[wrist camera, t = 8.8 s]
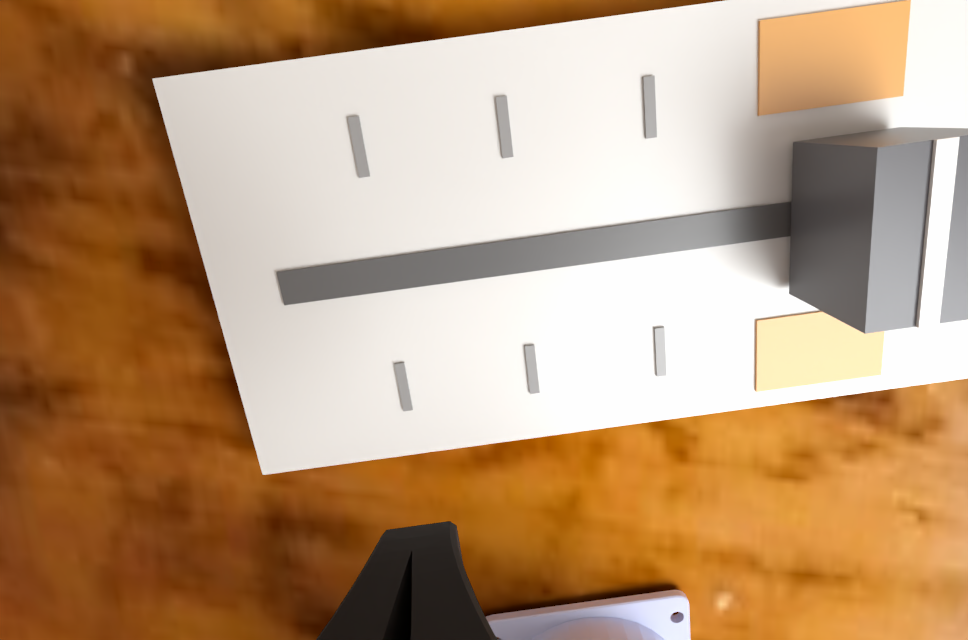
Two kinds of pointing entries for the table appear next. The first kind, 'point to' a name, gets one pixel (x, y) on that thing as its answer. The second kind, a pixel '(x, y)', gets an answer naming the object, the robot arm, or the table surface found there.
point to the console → (546, 222)
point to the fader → (882, 227)
